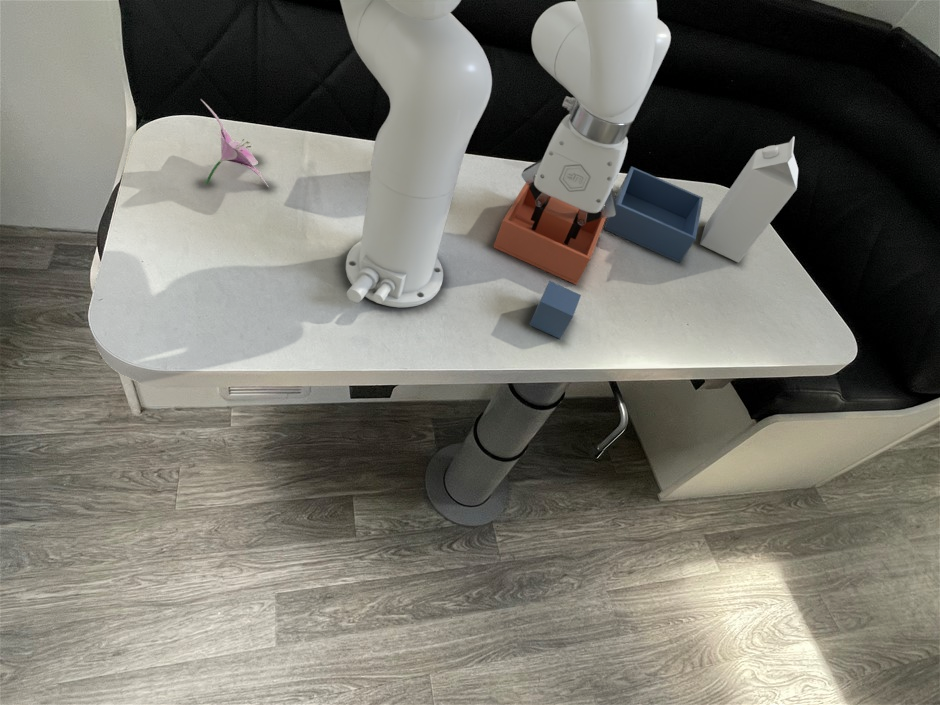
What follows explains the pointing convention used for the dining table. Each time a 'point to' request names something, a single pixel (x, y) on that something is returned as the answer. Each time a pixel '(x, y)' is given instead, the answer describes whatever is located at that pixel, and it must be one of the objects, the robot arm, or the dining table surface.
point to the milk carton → (752, 201)
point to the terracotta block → (556, 220)
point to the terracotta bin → (545, 241)
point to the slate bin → (656, 214)
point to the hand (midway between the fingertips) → (552, 231)
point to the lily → (233, 151)
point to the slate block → (555, 310)
